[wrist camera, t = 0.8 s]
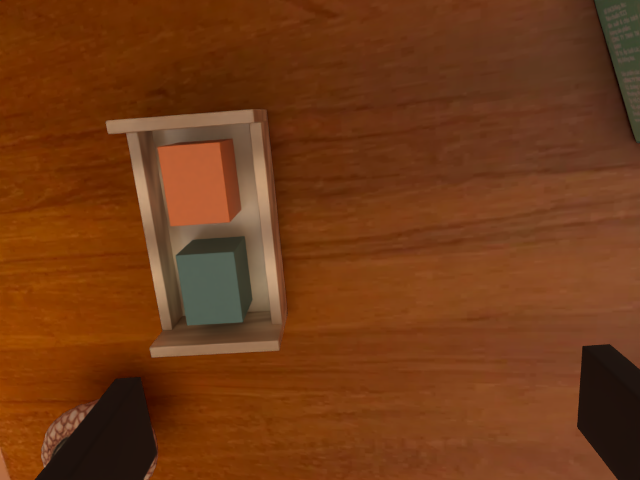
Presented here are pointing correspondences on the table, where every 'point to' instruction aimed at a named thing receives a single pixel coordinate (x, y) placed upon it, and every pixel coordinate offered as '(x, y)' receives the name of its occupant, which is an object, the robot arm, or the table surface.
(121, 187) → the table surface
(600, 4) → the box
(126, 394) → the robot arm
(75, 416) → the acorn
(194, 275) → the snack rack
